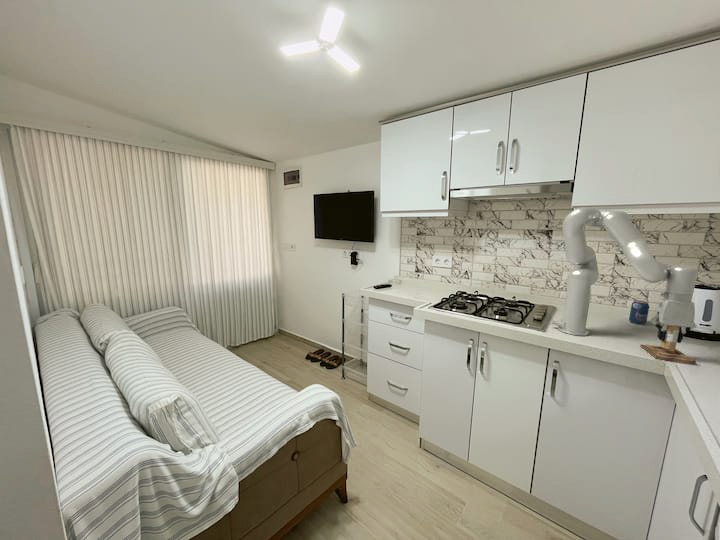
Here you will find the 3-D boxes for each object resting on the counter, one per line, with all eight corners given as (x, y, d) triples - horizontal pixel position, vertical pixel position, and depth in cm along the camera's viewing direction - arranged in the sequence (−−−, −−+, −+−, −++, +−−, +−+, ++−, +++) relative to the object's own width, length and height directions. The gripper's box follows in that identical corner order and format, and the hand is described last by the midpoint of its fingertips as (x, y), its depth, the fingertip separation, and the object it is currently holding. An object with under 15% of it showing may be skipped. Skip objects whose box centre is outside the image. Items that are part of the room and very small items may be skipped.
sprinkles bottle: (656, 345, 125) (662, 314, 122) (666, 345, 125) (672, 314, 123) (668, 350, 120) (675, 318, 118) (679, 350, 121) (685, 318, 118)
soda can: (636, 325, 159) (640, 303, 157) (625, 320, 166) (628, 299, 164) (649, 325, 159) (653, 303, 157) (637, 321, 166) (641, 300, 164)
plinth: (655, 359, 120) (656, 354, 119) (640, 347, 131) (640, 342, 130) (695, 365, 116) (696, 359, 115) (675, 352, 127) (676, 347, 126)
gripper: (656, 297, 118) (647, 341, 121) (713, 301, 113) (703, 347, 116) (646, 292, 125) (638, 334, 128) (699, 297, 120) (690, 340, 123)
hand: (669, 340), depth 122 cm, fingers closed on sprinkles bottle, 4 cm apart
